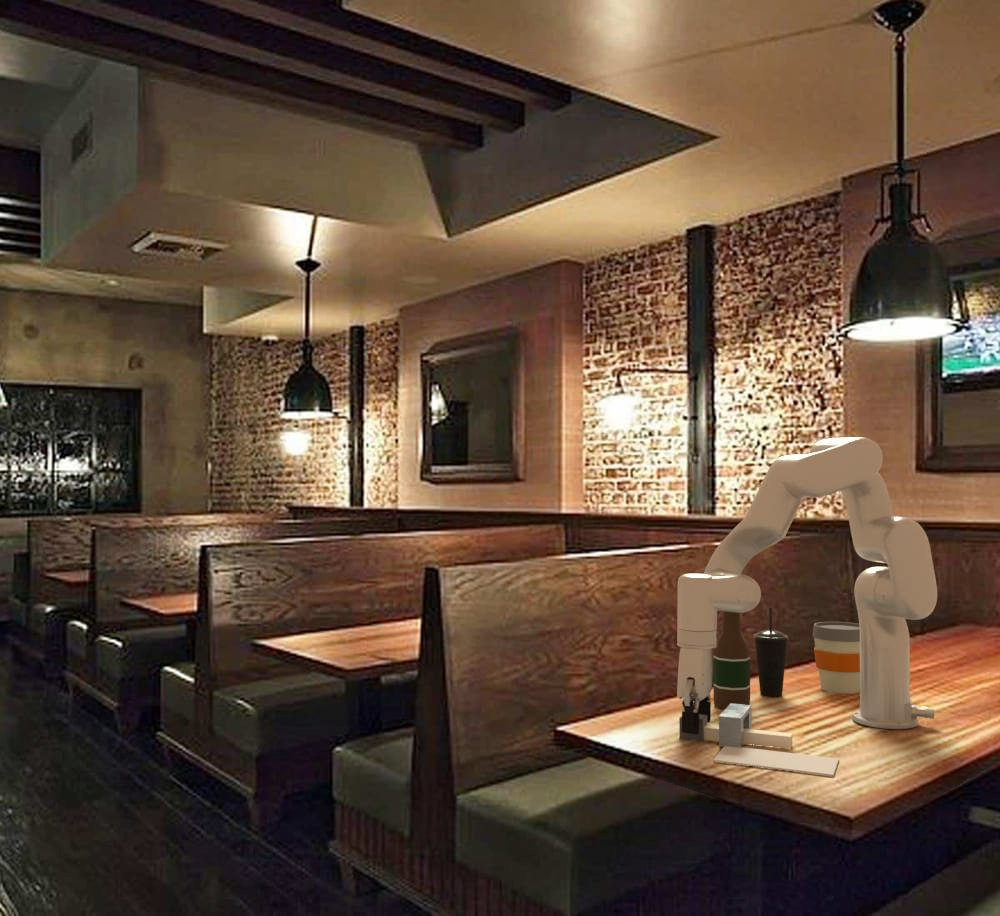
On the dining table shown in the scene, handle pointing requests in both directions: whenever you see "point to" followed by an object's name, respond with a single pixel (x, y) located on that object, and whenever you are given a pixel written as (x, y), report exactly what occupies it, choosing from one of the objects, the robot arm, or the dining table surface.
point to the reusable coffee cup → (838, 656)
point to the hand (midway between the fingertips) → (696, 727)
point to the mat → (778, 760)
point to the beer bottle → (731, 664)
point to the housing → (734, 724)
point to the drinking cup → (771, 660)
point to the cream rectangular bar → (748, 735)
